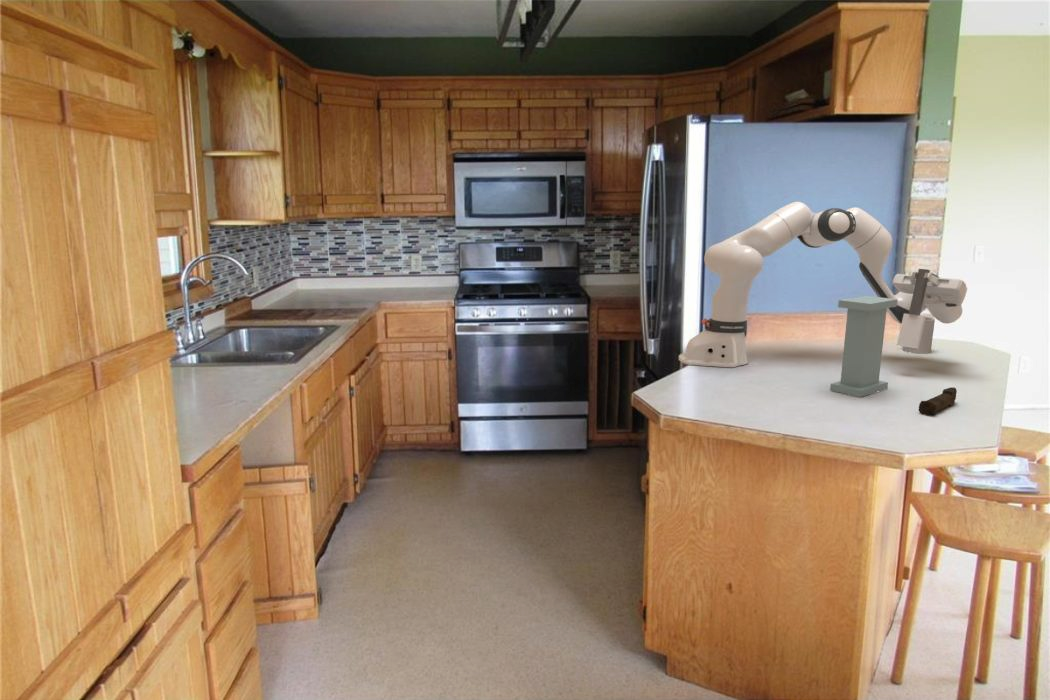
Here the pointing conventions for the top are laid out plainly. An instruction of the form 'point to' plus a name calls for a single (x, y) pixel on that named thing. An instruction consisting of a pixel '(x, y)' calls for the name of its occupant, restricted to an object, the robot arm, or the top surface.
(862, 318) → the stand
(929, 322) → the cup
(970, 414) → the top surface
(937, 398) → the dark brown elongated piece
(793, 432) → the top surface
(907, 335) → the turner
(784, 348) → the top surface
